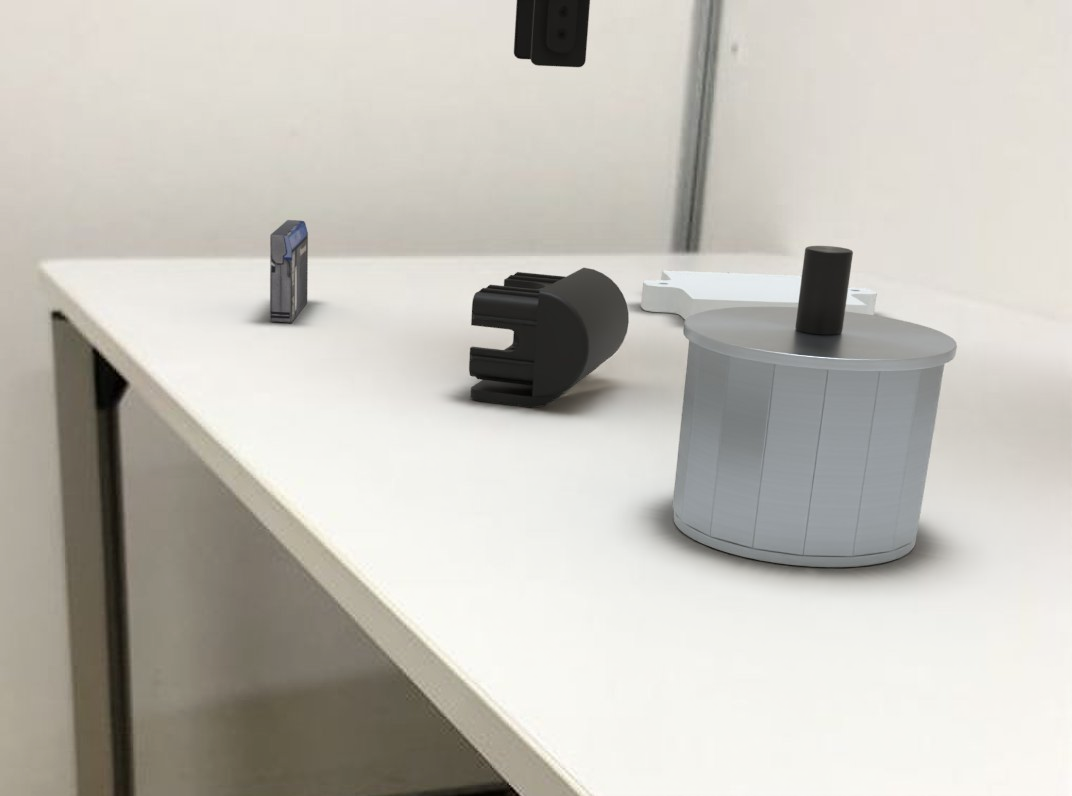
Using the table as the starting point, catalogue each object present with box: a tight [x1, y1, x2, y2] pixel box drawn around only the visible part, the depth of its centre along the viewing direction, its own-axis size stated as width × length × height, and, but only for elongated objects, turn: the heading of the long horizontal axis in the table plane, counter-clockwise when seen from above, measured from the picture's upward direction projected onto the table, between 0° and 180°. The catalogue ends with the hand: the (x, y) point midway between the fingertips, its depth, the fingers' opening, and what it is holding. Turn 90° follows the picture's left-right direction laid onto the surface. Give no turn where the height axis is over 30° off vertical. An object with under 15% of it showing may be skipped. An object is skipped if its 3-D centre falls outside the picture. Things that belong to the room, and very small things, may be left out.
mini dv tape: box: [269, 219, 309, 324], centre depth 116 cm, size 8×2×6 cm, turn 176°
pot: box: [672, 340, 945, 568], centre depth 72 cm, size 11×11×8 cm
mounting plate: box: [640, 270, 878, 321], centre depth 125 cm, size 18×13×2 cm
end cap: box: [468, 267, 630, 408], centre depth 96 cm, size 10×7×7 cm
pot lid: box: [682, 245, 958, 372], centre depth 70 cm, size 12×12×5 cm
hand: (547, 61), depth 99 cm, fingers open, 8 cm apart
